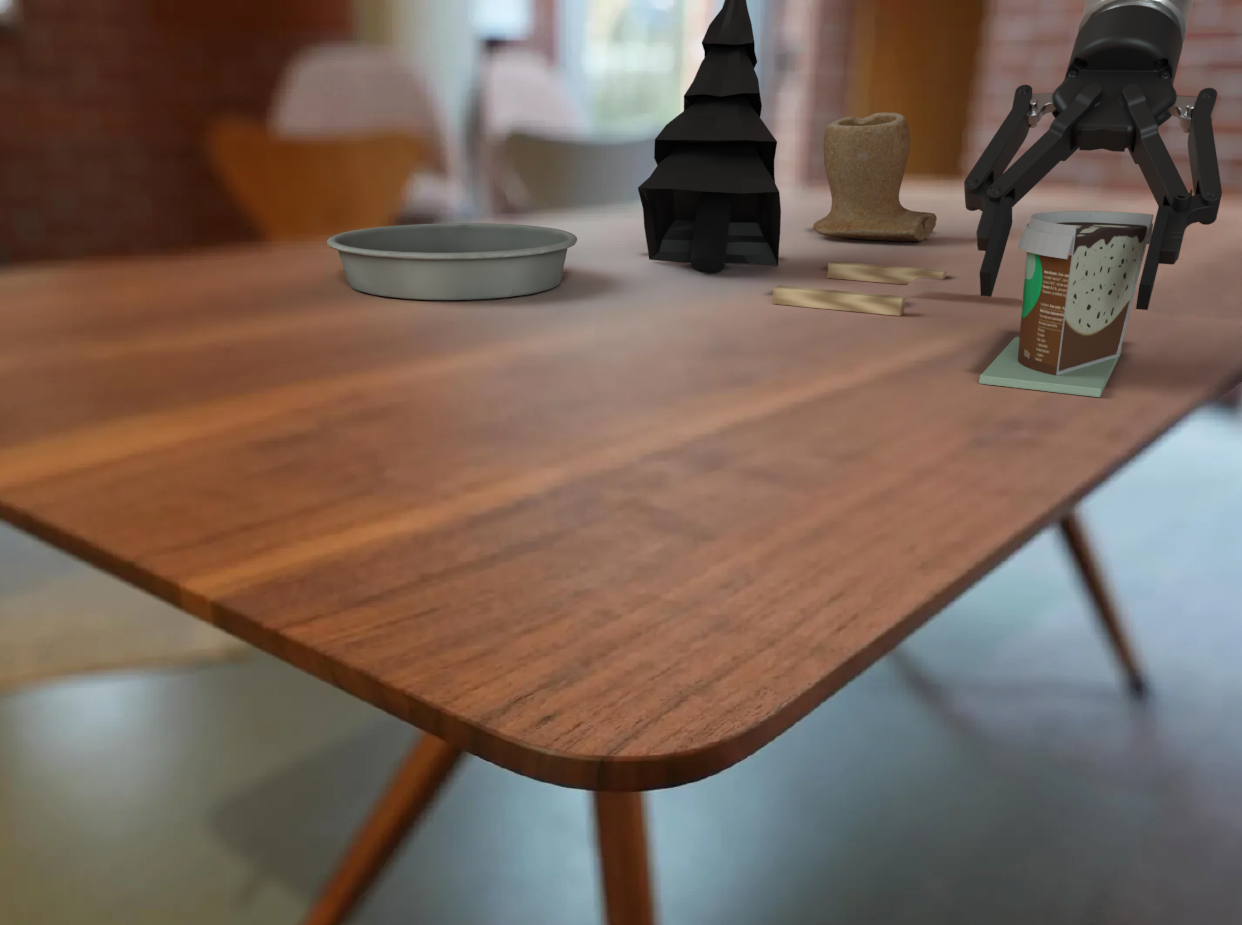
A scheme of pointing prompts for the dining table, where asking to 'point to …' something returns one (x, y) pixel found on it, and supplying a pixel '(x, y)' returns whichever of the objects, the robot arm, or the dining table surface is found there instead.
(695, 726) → the dining table surface
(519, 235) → the cake pan
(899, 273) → the rack
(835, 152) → the stone cup
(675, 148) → the decorative tree
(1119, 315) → the food container
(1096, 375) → the mat
